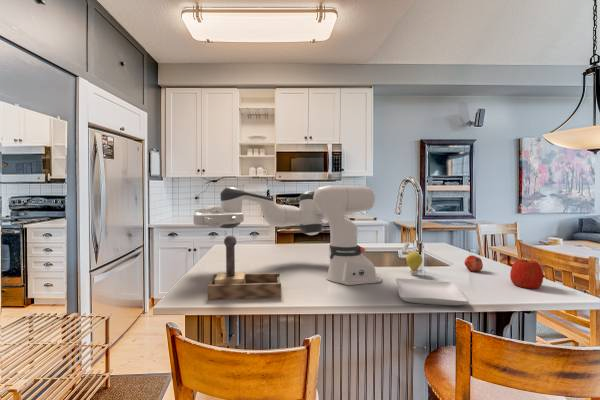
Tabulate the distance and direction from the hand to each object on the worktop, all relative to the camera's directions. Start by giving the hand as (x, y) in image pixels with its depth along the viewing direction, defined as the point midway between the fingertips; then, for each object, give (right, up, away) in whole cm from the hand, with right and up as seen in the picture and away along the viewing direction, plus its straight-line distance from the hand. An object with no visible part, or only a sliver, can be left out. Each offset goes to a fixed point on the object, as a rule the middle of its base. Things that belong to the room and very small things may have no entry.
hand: (222, 219), depth 131 cm
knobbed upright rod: (+5, -25, -10) cm, 27 cm away
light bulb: (+80, -25, +15) cm, 85 cm away
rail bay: (+11, -26, -9) cm, 30 cm away
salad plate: (+76, -27, -13) cm, 82 cm away
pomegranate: (+110, -25, +22) cm, 115 cm away
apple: (+119, -26, -1) cm, 122 cm away
